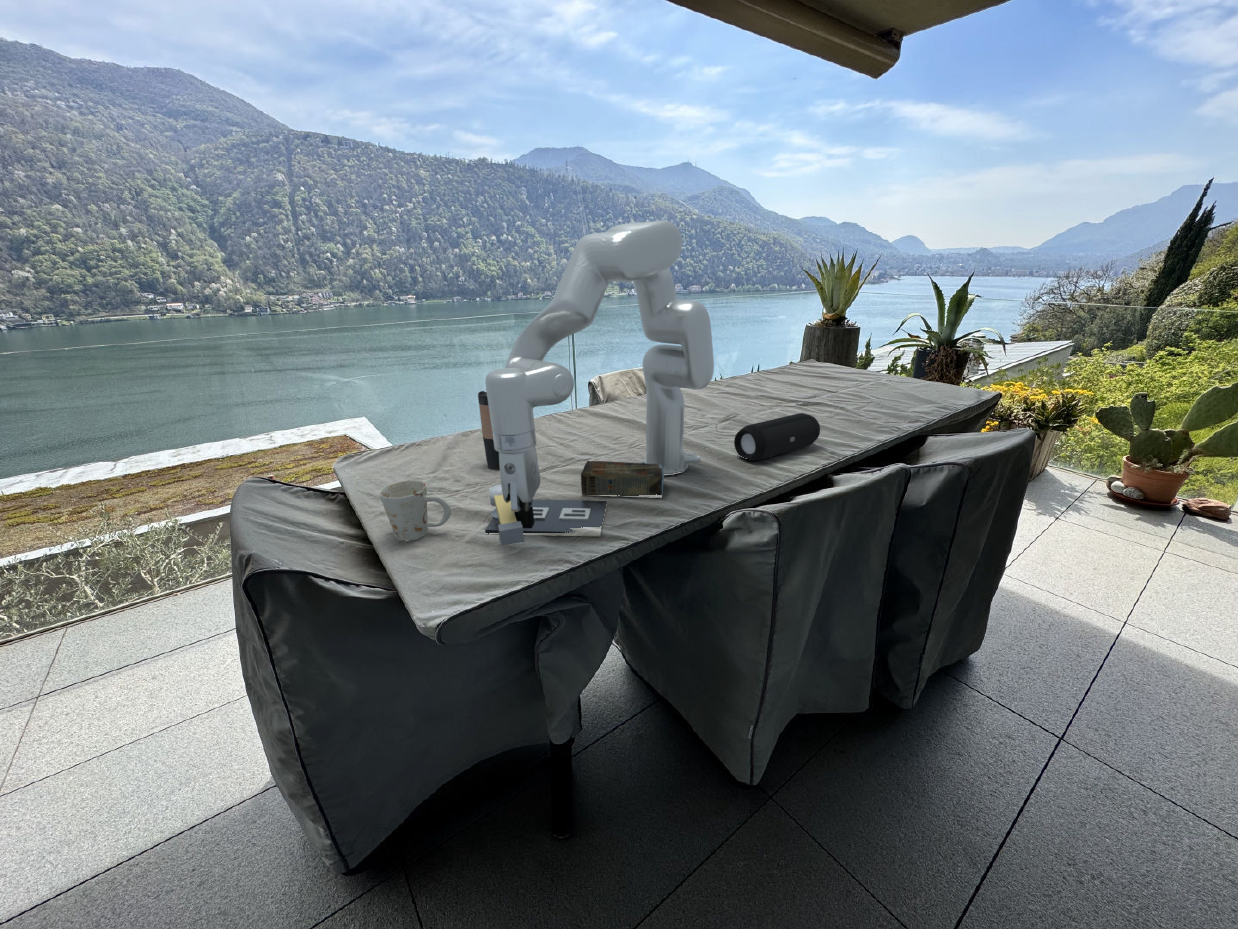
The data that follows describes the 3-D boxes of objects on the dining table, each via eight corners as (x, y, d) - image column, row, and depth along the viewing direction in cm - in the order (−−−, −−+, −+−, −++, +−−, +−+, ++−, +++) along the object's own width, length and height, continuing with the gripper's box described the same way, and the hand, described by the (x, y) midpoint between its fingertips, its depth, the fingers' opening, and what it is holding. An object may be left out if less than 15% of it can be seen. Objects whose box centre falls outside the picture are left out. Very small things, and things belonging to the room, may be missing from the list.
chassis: (607, 504, 106) (606, 490, 105) (600, 537, 93) (599, 521, 92) (501, 502, 108) (499, 488, 107) (480, 534, 95) (478, 518, 94)
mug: (397, 524, 99) (388, 480, 95) (459, 521, 100) (452, 477, 96) (382, 545, 92) (372, 499, 88) (449, 542, 92) (441, 495, 89)
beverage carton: (663, 500, 109) (663, 473, 106) (580, 497, 111) (578, 471, 108) (664, 486, 116) (664, 460, 113) (586, 483, 118) (585, 458, 116)
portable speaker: (757, 468, 125) (760, 431, 122) (730, 456, 133) (733, 422, 129) (820, 449, 138) (825, 416, 134) (792, 440, 145) (796, 408, 142)
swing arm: (525, 541, 85) (523, 526, 84) (500, 546, 84) (498, 530, 83) (510, 496, 103) (509, 483, 102) (489, 499, 101) (488, 486, 100)
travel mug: (508, 471, 125) (500, 396, 118) (481, 469, 127) (471, 395, 119) (519, 460, 132) (512, 389, 125) (494, 458, 134) (485, 388, 126)
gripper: (524, 453, 79) (535, 547, 86) (544, 425, 93) (552, 508, 100) (480, 453, 80) (495, 547, 87) (506, 425, 93) (517, 508, 101)
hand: (525, 526), depth 93 cm, fingers closed
